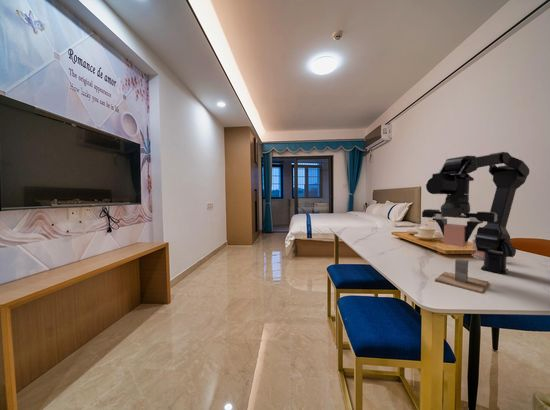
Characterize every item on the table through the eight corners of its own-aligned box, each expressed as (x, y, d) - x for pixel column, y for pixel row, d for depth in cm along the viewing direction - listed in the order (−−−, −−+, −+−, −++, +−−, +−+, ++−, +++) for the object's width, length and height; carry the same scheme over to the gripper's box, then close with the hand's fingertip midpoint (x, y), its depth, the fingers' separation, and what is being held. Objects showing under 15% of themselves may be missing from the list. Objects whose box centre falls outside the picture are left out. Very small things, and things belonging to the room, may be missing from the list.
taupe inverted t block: (444, 273, 75) (445, 253, 75) (488, 283, 67) (489, 261, 66) (434, 281, 69) (435, 259, 68) (481, 293, 60) (482, 268, 60)
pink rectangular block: (448, 242, 76) (448, 223, 76) (467, 244, 72) (468, 225, 72) (443, 243, 73) (444, 224, 73) (463, 246, 69) (464, 226, 69)
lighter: (492, 261, 88) (493, 237, 88) (482, 260, 89) (483, 237, 88) (478, 255, 96) (478, 234, 96) (469, 255, 97) (470, 233, 96)
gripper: (416, 194, 75) (415, 238, 75) (491, 194, 60) (489, 249, 60) (428, 194, 81) (427, 235, 82) (498, 194, 66) (496, 244, 67)
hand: (455, 240), depth 73 cm, fingers closed on pink rectangular block, 5 cm apart
